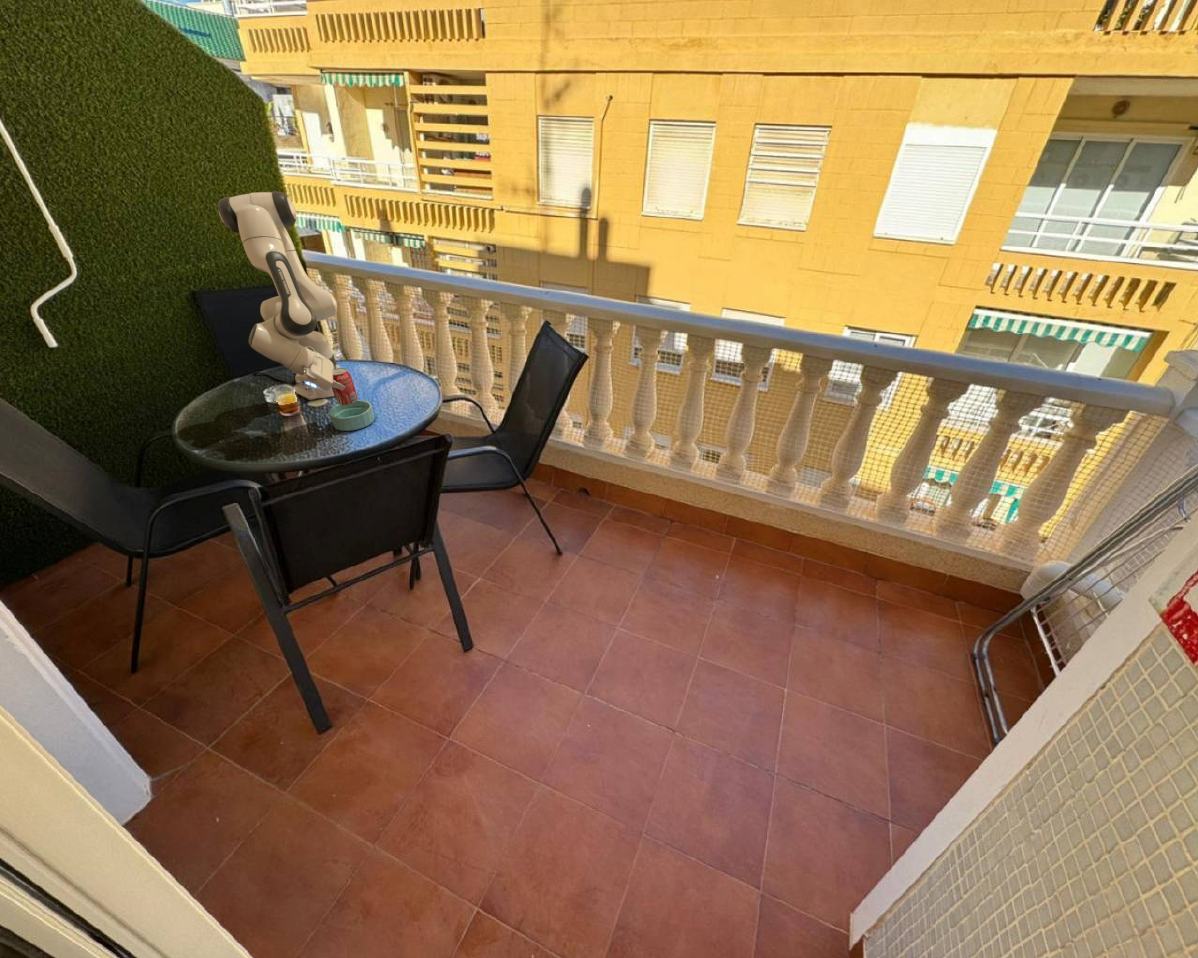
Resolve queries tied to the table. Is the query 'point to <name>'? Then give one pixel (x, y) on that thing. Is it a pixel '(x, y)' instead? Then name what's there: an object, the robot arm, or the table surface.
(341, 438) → the table surface
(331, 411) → the bowl
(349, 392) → the soda can
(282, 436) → the table surface
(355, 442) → the table surface
